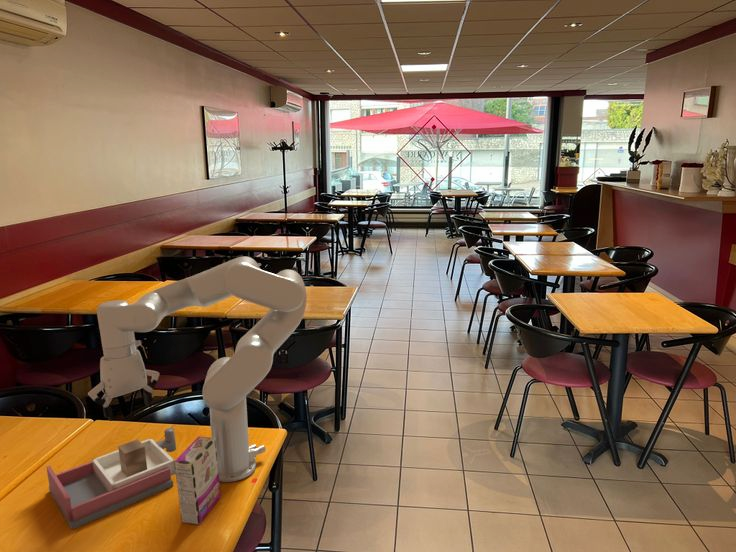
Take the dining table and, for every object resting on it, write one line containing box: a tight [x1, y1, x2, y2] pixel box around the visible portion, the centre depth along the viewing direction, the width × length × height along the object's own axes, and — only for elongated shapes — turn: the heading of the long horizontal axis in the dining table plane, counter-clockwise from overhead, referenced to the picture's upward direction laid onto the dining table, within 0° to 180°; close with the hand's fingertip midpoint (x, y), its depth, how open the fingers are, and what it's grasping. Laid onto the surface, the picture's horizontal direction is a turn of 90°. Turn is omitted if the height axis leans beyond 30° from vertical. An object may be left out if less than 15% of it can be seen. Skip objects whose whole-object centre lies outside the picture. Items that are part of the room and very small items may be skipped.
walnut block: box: [117, 439, 147, 477], centre depth 141 cm, size 5×5×7 cm
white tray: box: [91, 427, 177, 492], centre depth 143 cm, size 20×16×7 cm
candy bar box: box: [174, 436, 222, 526], centre depth 128 cm, size 11×5×16 cm, turn 168°
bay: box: [46, 460, 174, 530], centre depth 137 cm, size 24×20×8 cm
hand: (129, 412), depth 138 cm, fingers open, 9 cm apart
